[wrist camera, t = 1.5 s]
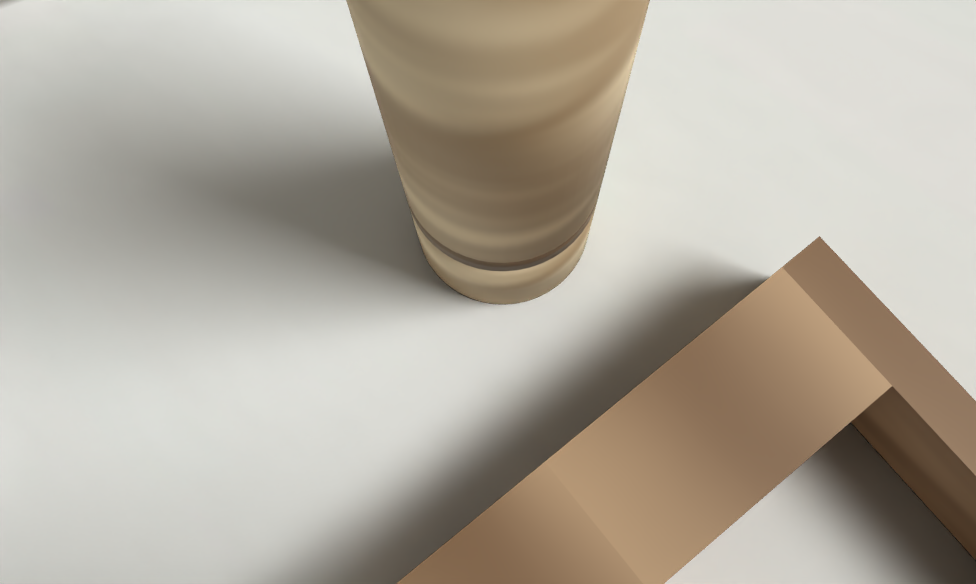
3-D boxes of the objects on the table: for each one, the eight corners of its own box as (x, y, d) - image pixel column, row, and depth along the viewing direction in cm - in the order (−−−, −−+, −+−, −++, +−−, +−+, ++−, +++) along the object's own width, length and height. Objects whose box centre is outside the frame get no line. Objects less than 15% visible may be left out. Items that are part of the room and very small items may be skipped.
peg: (489, 339, 21) (444, -114, 6) (383, 209, 22) (129, -452, 7) (623, 233, 21) (864, -405, 7) (515, 111, 22) (527, -685, 8)
